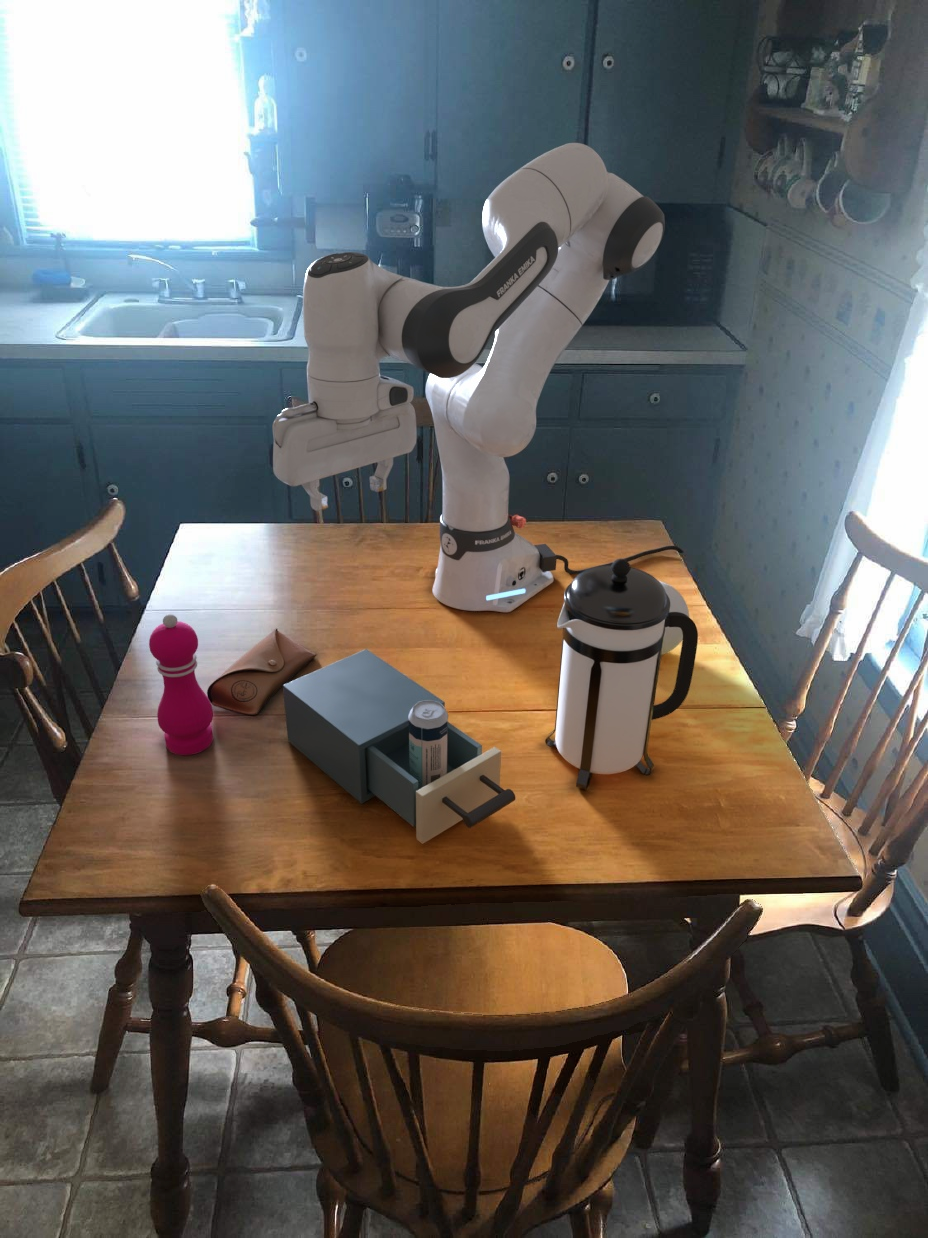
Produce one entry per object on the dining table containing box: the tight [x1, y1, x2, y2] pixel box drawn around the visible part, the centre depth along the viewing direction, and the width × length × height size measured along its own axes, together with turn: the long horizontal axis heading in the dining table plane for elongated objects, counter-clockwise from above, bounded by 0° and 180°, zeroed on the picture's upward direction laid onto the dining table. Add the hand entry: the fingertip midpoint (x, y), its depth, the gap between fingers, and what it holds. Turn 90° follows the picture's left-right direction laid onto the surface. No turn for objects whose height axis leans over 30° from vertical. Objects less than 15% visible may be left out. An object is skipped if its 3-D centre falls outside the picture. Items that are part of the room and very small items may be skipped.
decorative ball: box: [658, 580, 690, 656], centre depth 148 cm, size 12×12×12 cm
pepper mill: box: [148, 613, 215, 756], centre depth 124 cm, size 7×7×20 cm
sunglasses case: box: [206, 627, 318, 716], centre depth 141 cm, size 18×7×7 cm
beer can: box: [408, 700, 449, 790], centre depth 116 cm, size 5×5×12 cm
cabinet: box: [282, 648, 446, 805], centre depth 126 cm, size 17×14×9 cm
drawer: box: [365, 721, 516, 845], centre depth 117 cm, size 21×13×7 cm, turn 42°
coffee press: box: [544, 558, 699, 791], centre depth 121 cm, size 17×16×30 cm
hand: (349, 499), depth 123 cm, fingers open, 8 cm apart
